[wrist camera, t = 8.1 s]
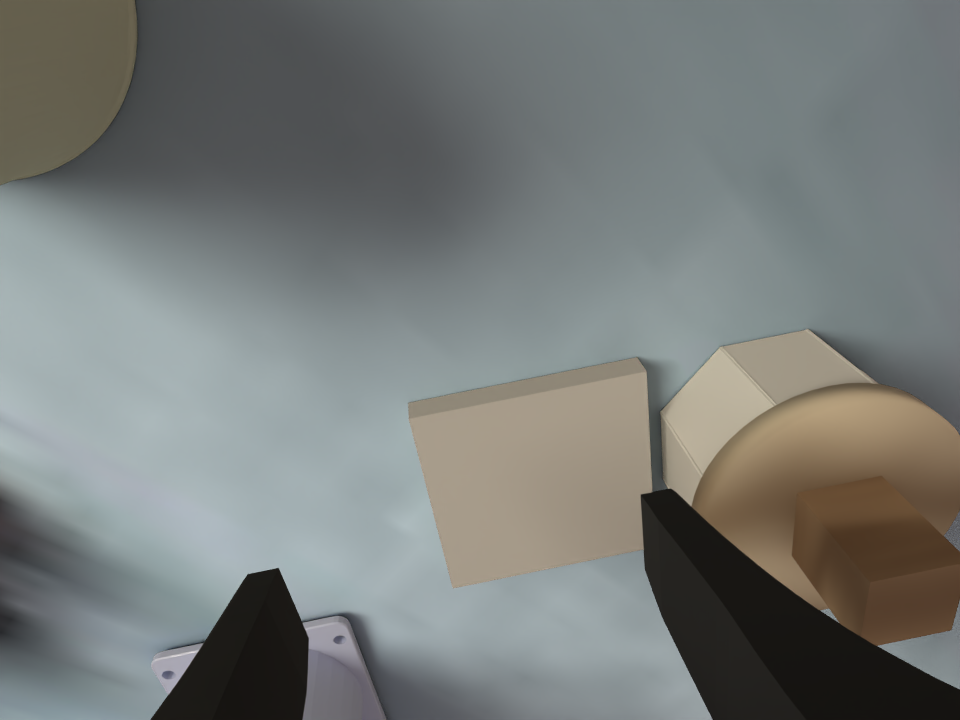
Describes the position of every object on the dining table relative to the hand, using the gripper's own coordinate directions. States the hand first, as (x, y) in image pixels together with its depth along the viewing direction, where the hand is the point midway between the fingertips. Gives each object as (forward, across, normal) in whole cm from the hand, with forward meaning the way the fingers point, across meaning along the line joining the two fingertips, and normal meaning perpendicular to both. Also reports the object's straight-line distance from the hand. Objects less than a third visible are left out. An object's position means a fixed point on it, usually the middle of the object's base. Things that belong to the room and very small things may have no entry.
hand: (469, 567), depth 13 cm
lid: (+6, -11, +6) cm, 14 cm away
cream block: (+10, -2, +6) cm, 12 cm away
